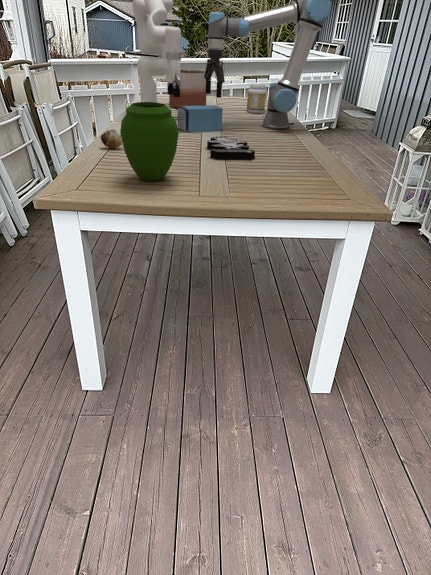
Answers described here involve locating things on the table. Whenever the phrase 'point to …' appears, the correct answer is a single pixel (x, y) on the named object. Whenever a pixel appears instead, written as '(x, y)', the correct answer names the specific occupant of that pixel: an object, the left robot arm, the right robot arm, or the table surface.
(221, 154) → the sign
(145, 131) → the vase
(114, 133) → the seashell
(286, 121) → the right robot arm
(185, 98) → the planter
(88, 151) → the table surface
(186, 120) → the drawer
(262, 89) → the supplement tub
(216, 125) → the blue storage bin
